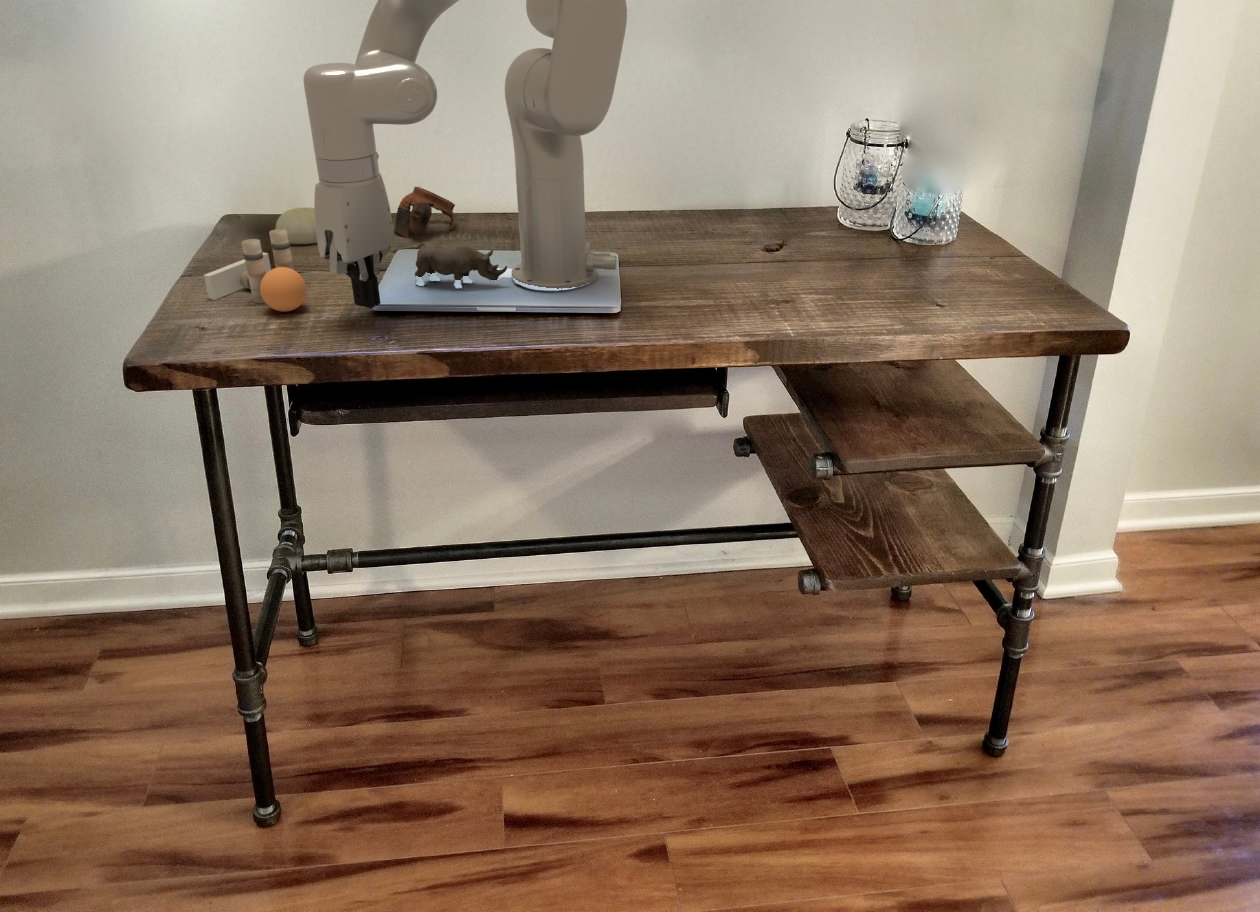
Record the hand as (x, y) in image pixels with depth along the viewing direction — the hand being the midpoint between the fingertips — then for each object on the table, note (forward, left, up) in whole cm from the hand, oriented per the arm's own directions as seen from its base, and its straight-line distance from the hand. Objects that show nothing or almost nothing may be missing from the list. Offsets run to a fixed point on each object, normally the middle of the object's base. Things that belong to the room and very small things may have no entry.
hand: (367, 304), depth 140 cm
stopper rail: (+22, -9, -2) cm, 24 cm away
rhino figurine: (-10, -12, -2) cm, 16 cm away
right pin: (+15, -9, -2) cm, 18 cm away
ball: (+12, -1, +2) cm, 12 cm away
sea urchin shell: (+21, -32, -2) cm, 39 cm away
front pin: (+13, -6, 0) cm, 14 cm away
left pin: (+17, -4, -2) cm, 18 cm away
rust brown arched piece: (+3, -37, -2) cm, 37 cm away
